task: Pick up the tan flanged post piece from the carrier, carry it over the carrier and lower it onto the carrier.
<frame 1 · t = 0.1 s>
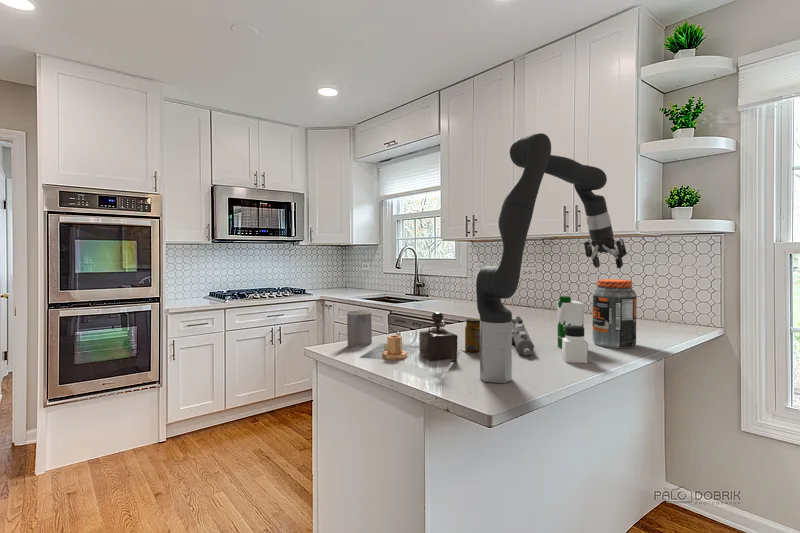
hand: (608, 267, 158), 31 cm above the countertop, tool tilted 20°, fingers open, 8 cm apart
milk carton: (570, 349, 167), on the countertop
condiment: (473, 352, 163), on the countertop
pillar candle: (359, 346, 174), on the countertop
tan flanged post piece: (394, 356, 151), point 1 cm above the countertop, touching carrier
pepper mill: (440, 362, 149), on the countertop
carrier: (392, 354, 159), on the countertop
hydraulic cylinder: (519, 348, 170), on the countertop
supplement tub: (613, 345, 173), on the countertop
medicine bottle: (574, 361, 149), on the countertop
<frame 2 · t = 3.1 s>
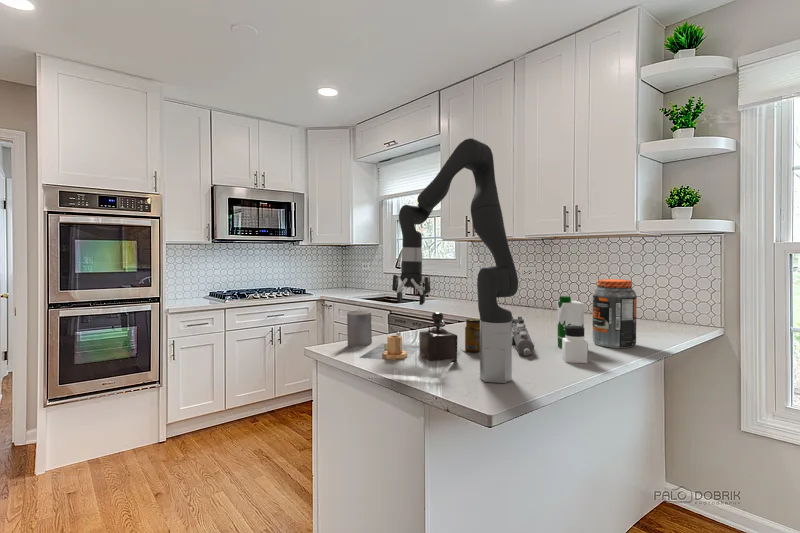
hand: (410, 303, 160), 18 cm above the countertop, tool pointing down, fingers open, 8 cm apart
nothing on the countertop moved.
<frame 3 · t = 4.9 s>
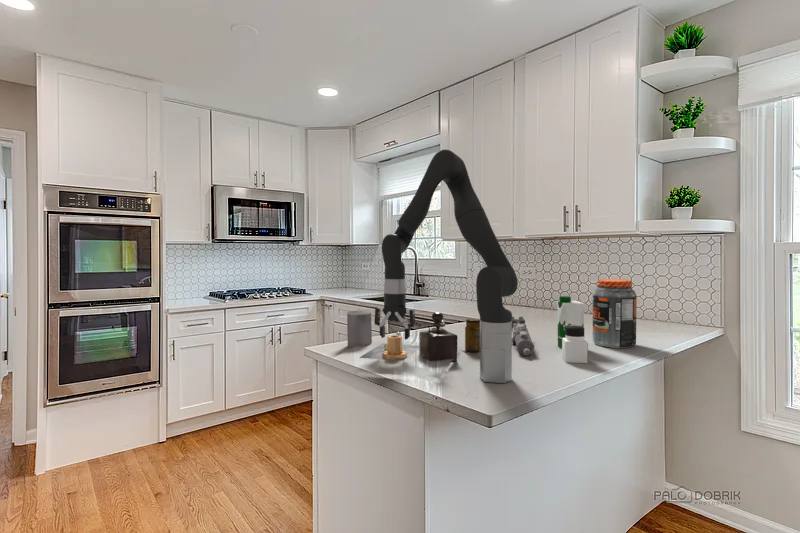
hand: (394, 338, 151), 8 cm above the countertop, tool pointing down, fingers open, 8 cm apart
nothing on the countertop moved.
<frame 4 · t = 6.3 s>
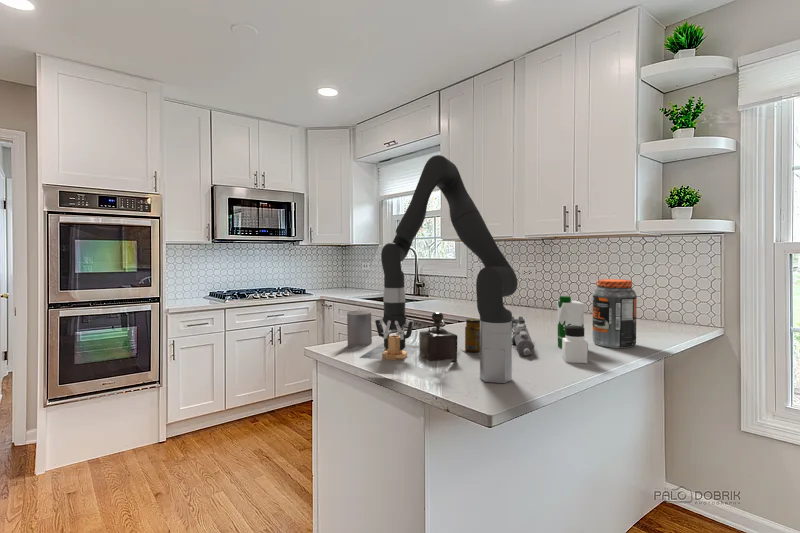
hand: (394, 349, 151), 4 cm above the countertop, tool pointing down, fingers closed on tan flanged post piece, 4 cm apart
tan flanged post piece: (394, 356, 151), point 1 cm above the countertop, touching carrier, gripper
everything else where it was.
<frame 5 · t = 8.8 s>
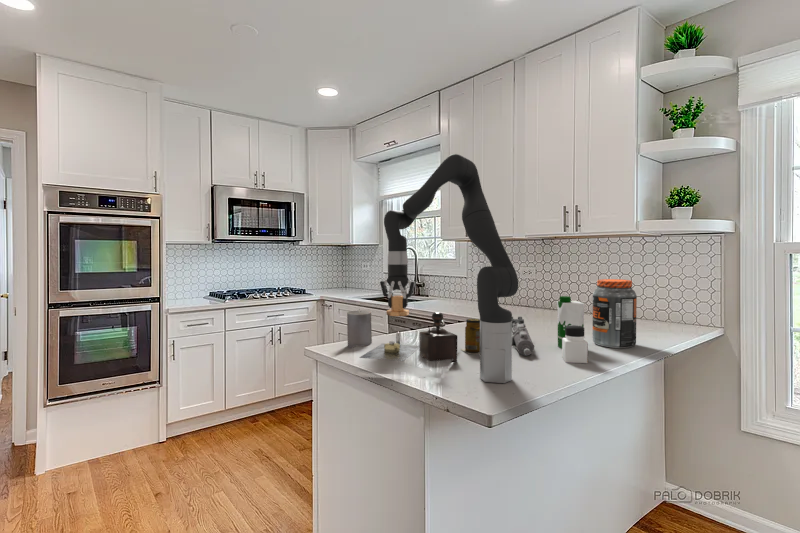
hand: (397, 307, 166), 16 cm above the countertop, tool pointing down, fingers closed on tan flanged post piece, 4 cm apart
tan flanged post piece: (397, 314, 166), point 14 cm above the countertop, touching gripper
everything else where it was.
when the fingers open (5 cm above the countertop, at t = 11.4 s): tan flanged post piece drops 1 cm, resting on carrier.
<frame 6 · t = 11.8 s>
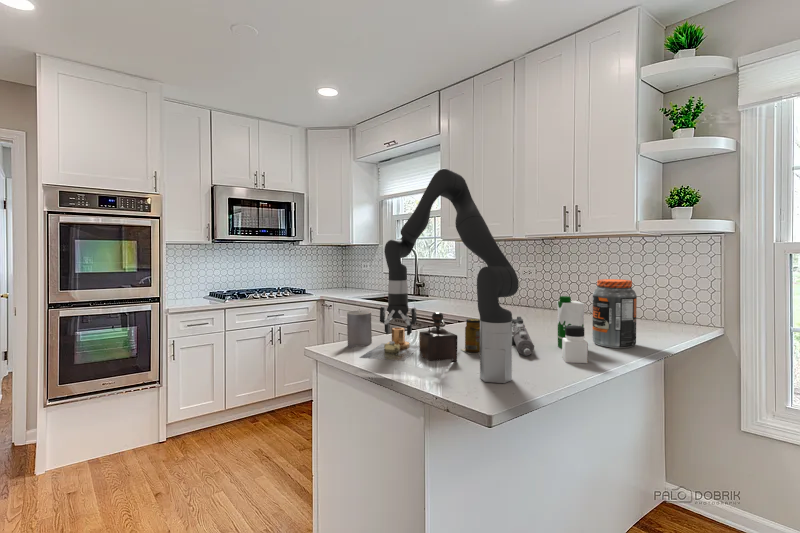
hand: (398, 334, 166), 6 cm above the countertop, tool pointing down, fingers open, 8 cm apart
tan flanged post piece: (398, 346, 166), point 1 cm above the countertop, touching carrier
everything else where it was.
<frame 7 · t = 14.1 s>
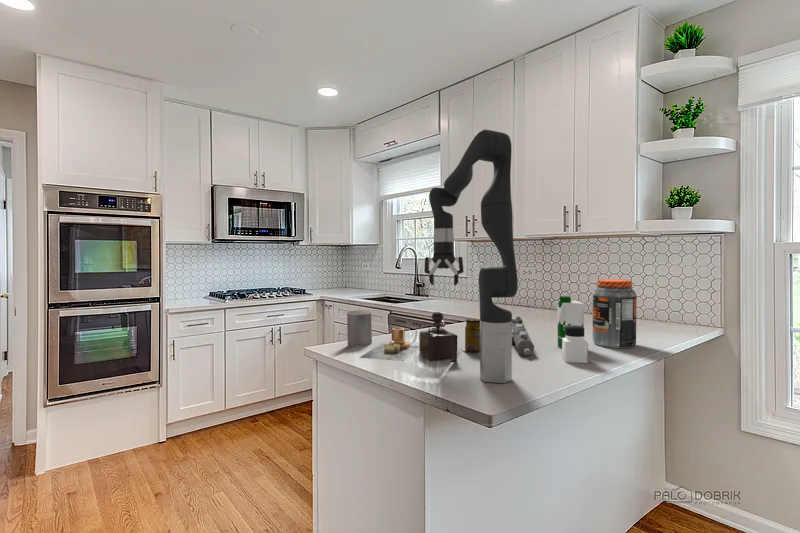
hand: (443, 284, 161), 25 cm above the countertop, tool pointing down, fingers open, 8 cm apart
nothing on the countertop moved.
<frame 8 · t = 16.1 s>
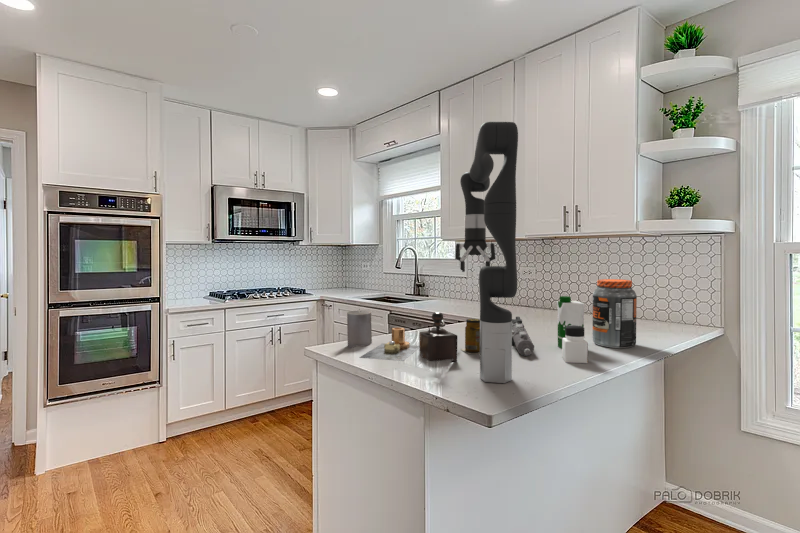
hand: (475, 271, 159), 30 cm above the countertop, tool pointing down, fingers open, 8 cm apart
nothing on the countertop moved.
at the end: tan flanged post piece 0.0 cm from the target spot, point 1.2 cm above the countertop; tan flanged post piece tilted 0°; the gripper is holding nothing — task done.
